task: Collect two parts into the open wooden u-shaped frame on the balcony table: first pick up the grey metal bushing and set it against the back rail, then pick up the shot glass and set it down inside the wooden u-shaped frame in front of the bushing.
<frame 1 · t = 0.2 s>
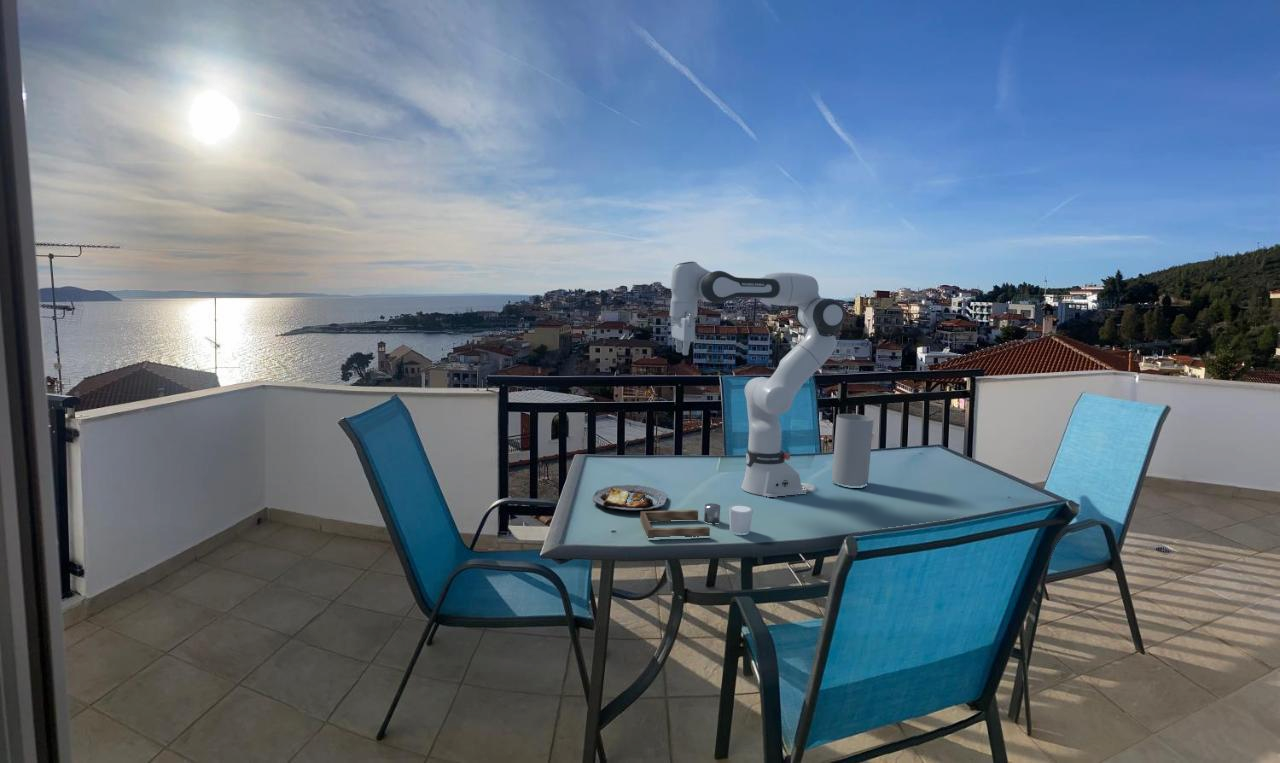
hand: (682, 353, 198), 47 cm above the table, tool pointing down, fingers open, 8 cm apart
wooden u-shaped frame: (675, 529, 171), on the table
shot glass: (739, 532, 171), on the table
bushing: (711, 522, 177), on the table
food plate: (630, 503, 193), on the table
cylinder vase: (849, 484, 219), on the table
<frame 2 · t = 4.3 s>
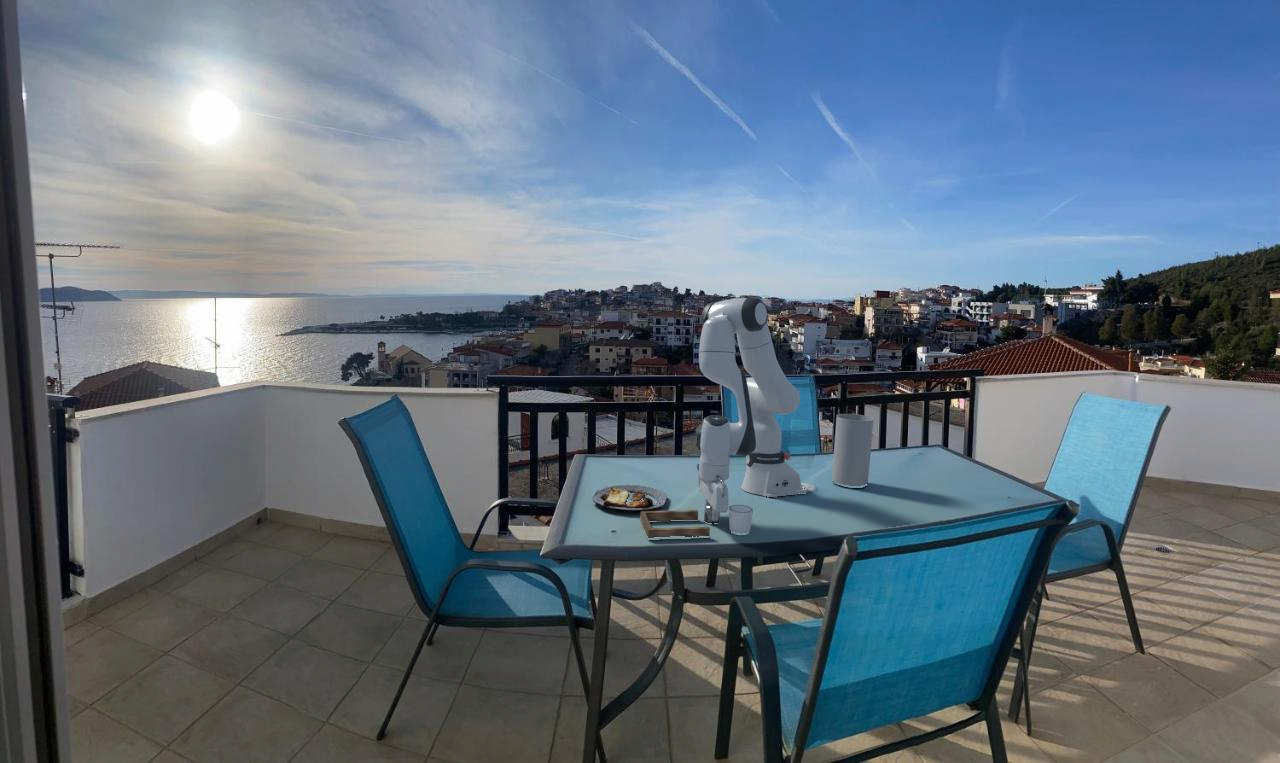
hand: (711, 516, 177), 2 cm above the table, tool pointing down, fingers closed on bushing, 5 cm apart
bushing: (711, 521, 177), on the table, touching gripper
everything else where it was.
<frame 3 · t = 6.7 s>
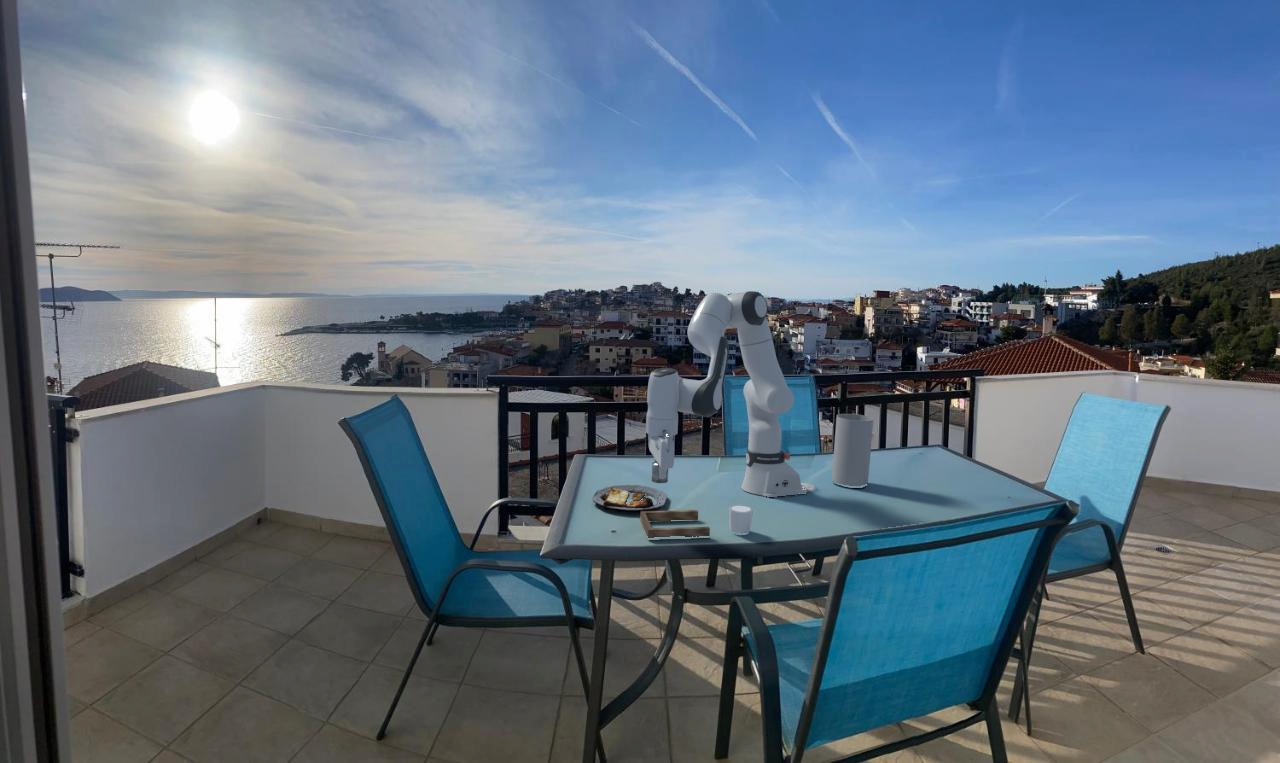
hand: (660, 475, 168), 16 cm above the table, tool pointing down, fingers closed on bushing, 5 cm apart
bushing: (659, 480, 168), point 15 cm above the table, touching gripper
everything else where it was.
when the fingers open (3 cm above the table, at t = 9.0 s): bushing drops 1 cm, resting in wooden u-shaped frame.
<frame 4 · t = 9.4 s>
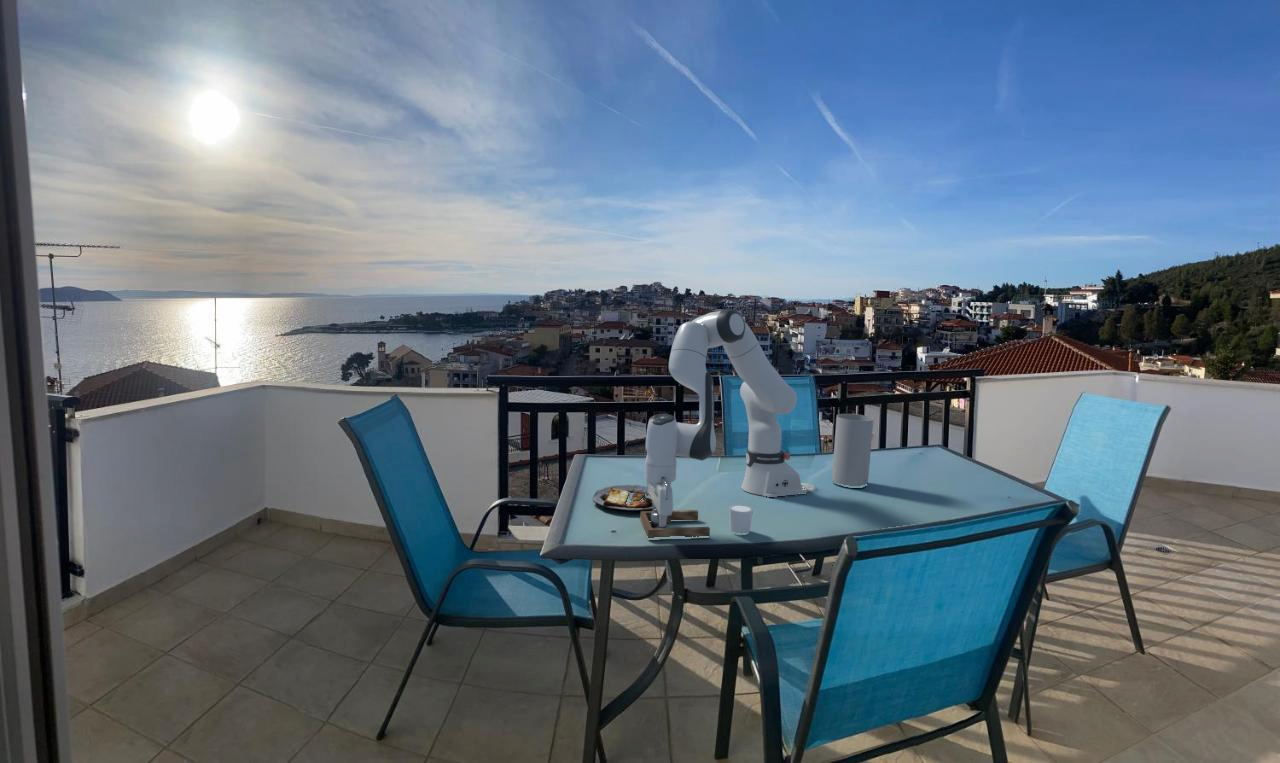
hand: (658, 519, 170), 3 cm above the table, tool pointing down, fingers open, 8 cm apart
bushing: (658, 530, 170), resting in wooden u-shaped frame
everything else where it was.
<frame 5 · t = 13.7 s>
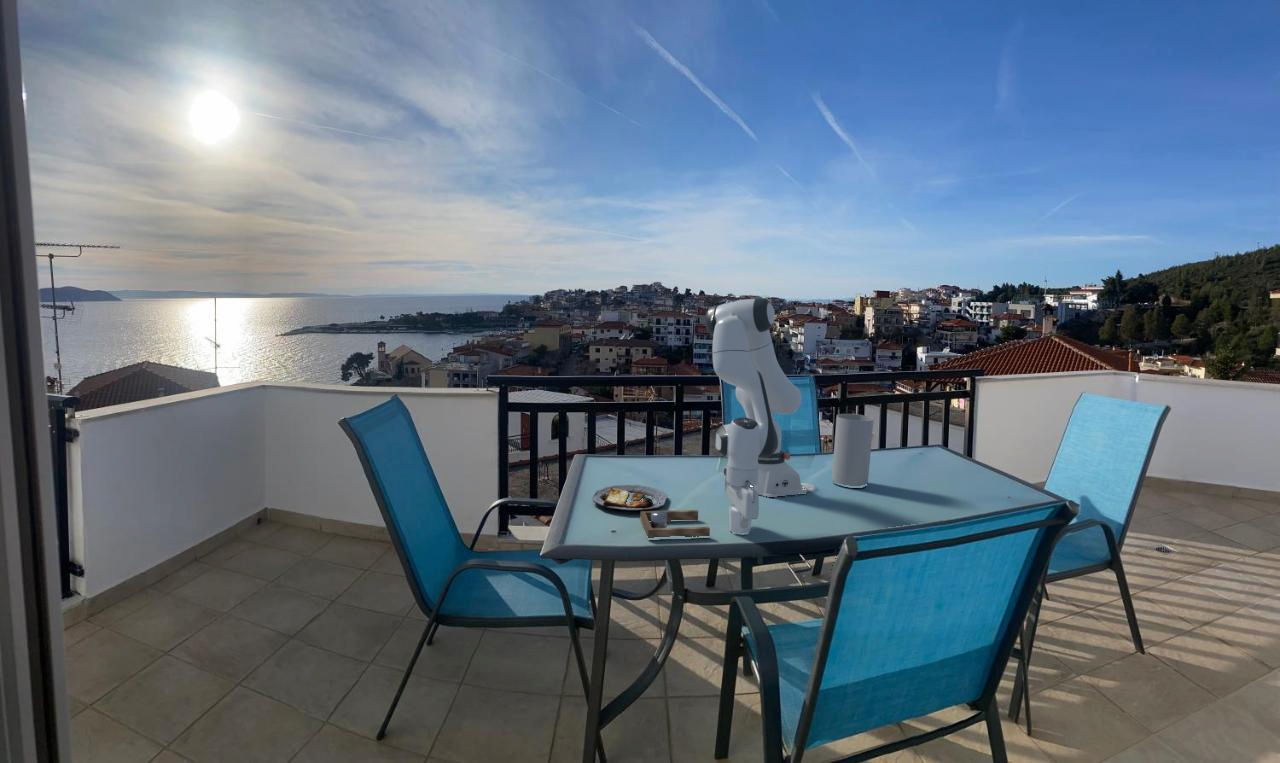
hand: (739, 523, 170), 3 cm above the table, tool pointing down, fingers closed on shot glass, 5 cm apart
shot glass: (739, 532, 171), on the table, touching gripper
everything else where it was.
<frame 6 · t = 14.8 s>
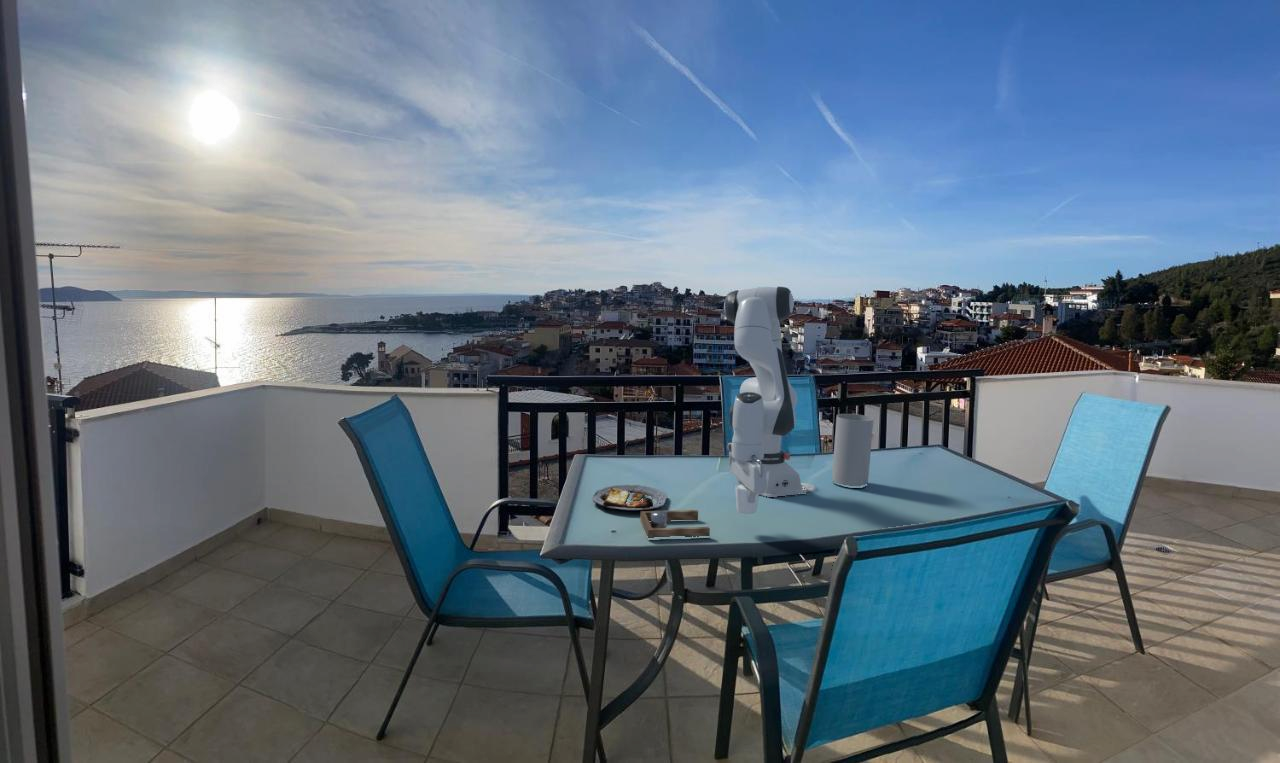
hand: (747, 498, 169), 10 cm above the table, tool pointing down, fingers closed on shot glass, 5 cm apart
shot glass: (746, 510, 170), point 6 cm above the table, touching gripper
everything else where it was.
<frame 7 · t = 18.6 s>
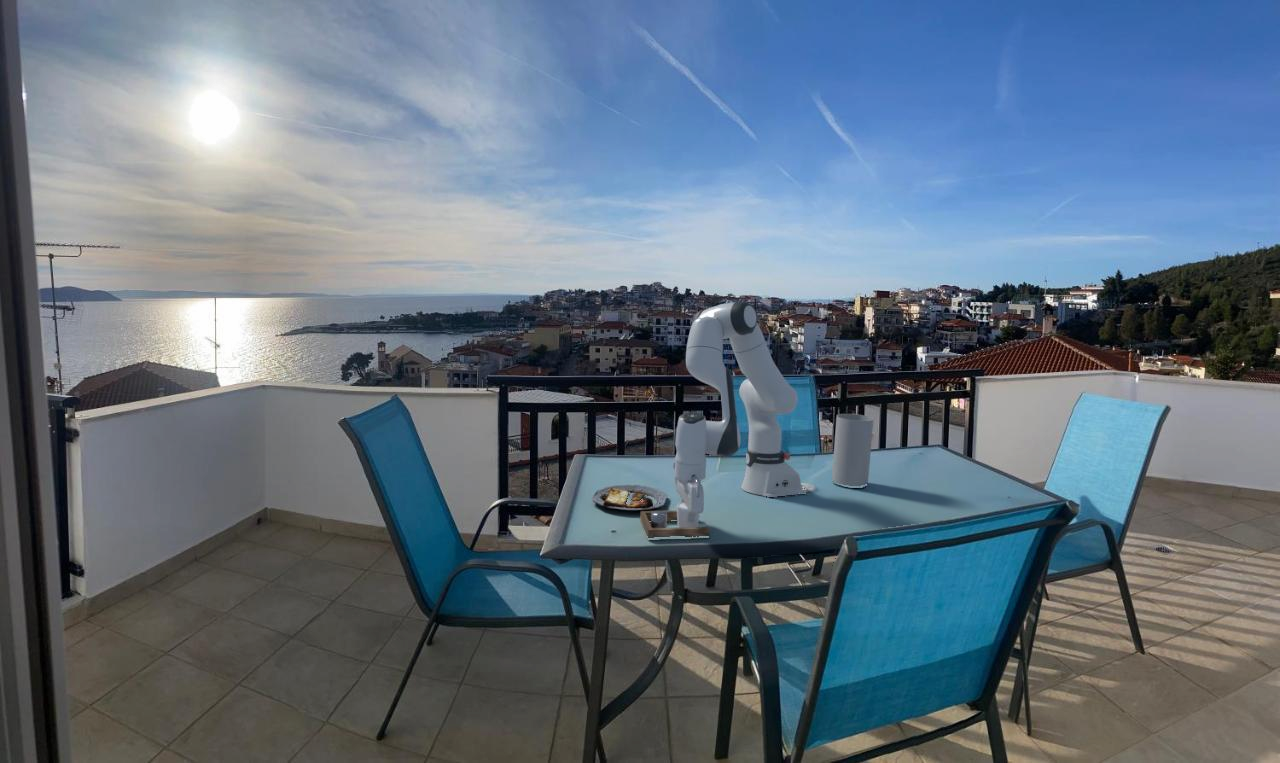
hand: (688, 517, 171), 4 cm above the table, tool pointing down, fingers closed on shot glass, 5 cm apart
shot glass: (687, 529, 171), on the table, touching gripper
everything else where it was.
when the fingers open (4 cm above the table, at t = 18.8 s): shot glass stays where it is, on the table.
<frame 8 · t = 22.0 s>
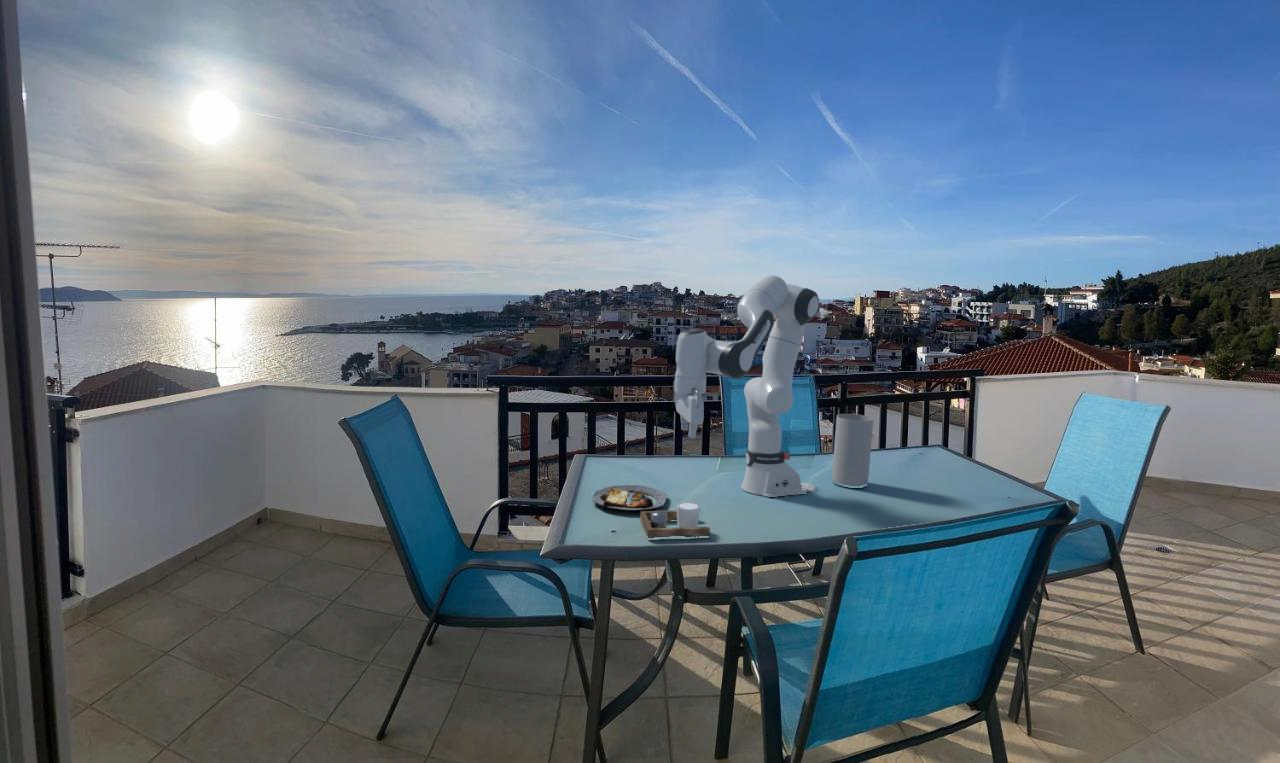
hand: (688, 433, 171), 27 cm above the table, tool pointing down, fingers open, 8 cm apart
shot glass: (687, 529, 171), on the table
everything else where it was.
at the end: shot glass inside the target area (3.5 cm from its centre), on the table; shot glass tilted 0°; bushing inside the target area (5.0 cm from its centre), resting in wooden u-shaped frame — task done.
